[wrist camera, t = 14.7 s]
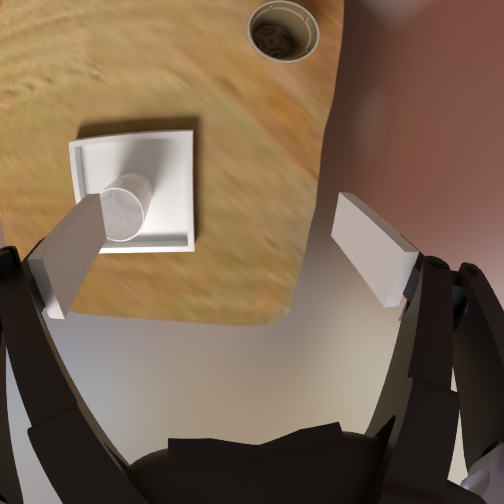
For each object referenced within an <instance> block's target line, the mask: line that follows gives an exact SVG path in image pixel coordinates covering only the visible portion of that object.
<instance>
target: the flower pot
mask: <svg viewBox="0 0 504 504" xmlns="http://www.w3.org/2000/svg"><path fill="white" fill-rule="evenodd" d="M265 28H270V29H268V30H263V29H265ZM247 35H248V38H249V41H250V43H251V44H252V47H253V49H254V50H255V52H256V53H257V54H259V55H260V56H262V57H264V58H267V59H270V60H273V61H276V62H281V63H292V62H297V61H300V60H303V59H305V58H306V57H308V56H309V55H310V54H311V53H312V52H313V51H314V50H315V49H316V47H317V45H318V42H319V37H320V33H319V28H318V25H317V22H316V20H315V19H314V17H313V16H312V15H311V13H310V12H309V11H307V10H306V9H305V8H304V7H302V6H300V5H298V4H296V3H294V2H290V1H285V0H275V1H270V2H267V3H264V4H262V5H260V6H259V7H258V8H256V9H255V10H254V11H253V13H252V14H251V15H250V17H249V20H248V23H247ZM284 35H286V36H287V37H288V42H287V41H286V38H285V36H284ZM271 40H273V42H271ZM255 42H258V45H259V48H258V47H257V46H256V44H255ZM277 53H280V55H278V56H275V57H273V56H272V55H273V54H277Z"/></svg>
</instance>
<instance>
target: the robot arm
mask: <svg viewBox="0 0 504 504" xmlns="http://www.w3.org/2000/svg"><path fill="white" fill-rule="evenodd" d="M331 236H332V237H333V238H334V240H335V241H336V242H337V243H338V245H339V246H340V247H341V249H342V250H343V251H344V253H345V254H346V255H347V257H348V258H349V259H350V261H351V262H352V263H353V265H354V266H355V267H356V269H357V270H358V271H359V273H360V274H361V276H362V277H363V278H364V279H365V281H366V282H367V284H368V285H369V286H370V288H371V289H372V291H373V292H374V294H375V295H376V296H377V298H378V299H379V300H380V302H381V303H382V305H383V306H384V308H387V307H395V306H398V305H399V303H400V300H401V298H402V296H403V295H404V296H405V298H406V299H407V302H406V304H405V307H404V309H403V311H402V313H401V315H400V317H399V319H398V320H399V321H401V324H400V328H399V333H398V337H397V340H396V345H395V348H394V352H393V356H392V359H391V363H390V366H389V370H388V373H387V376H386V379H385V383H384V385H383V389H382V391H381V395H380V397H379V400H378V403H377V406H376V409H375V411H374V415H373V417H372V419H371V422H370V424H369V427H368V429H367V431H366V432H365V434H364V435H363V434H359V433H354V432H344V431H342V430H341V427H340V424H339V422H335V423H331V424H326V425H321V426H316V427H311V428H305V429H300V430H298V431H295V432H293V433H291V434H288V435H285V436H283V437H280V438H278V439H275V440H272V441H270V442H267V443H264V444H261V445H251V444H243V443H236V442H230V441H224V440H218V439H212V438H207V439H206V438H205V439H173V438H169V439H168V448H167V449H163V450H159V451H156V452H153V453H150V454H148V455H146V456H143V457H142V458H140V459H138V460H136V461H135V462H134V463H132V464H131V465H129V464H128V462H127V461H126V460H125V459H124V458H123V457H122V455H121V454H120V453H119V452H118V451H117V449H116V448H115V447H114V445H113V444H112V443H111V441H110V440H109V438H108V437H107V435H106V434H105V433H104V431H103V430H102V428H101V427H100V425H99V424H98V422H97V421H96V419H95V418H94V416H93V414H92V413H91V411H90V410H89V408H88V406H87V405H86V403H85V401H84V400H83V398H82V396H81V395H80V393H79V391H78V389H77V387H76V386H75V384H74V382H73V380H72V378H71V377H70V375H69V373H68V371H67V369H66V367H65V365H64V363H63V361H62V359H61V357H60V355H59V353H58V351H57V348H56V346H55V344H54V342H53V339H52V337H51V335H50V332H49V330H48V328H47V325H46V323H45V320H44V318H43V316H42V314H41V313H42V311H43V309H44V307H45V308H46V310H47V312H48V315H49V317H50V318H58V319H65V318H66V315H67V313H68V311H69V309H70V307H71V305H72V303H73V301H74V299H75V297H76V295H77V293H78V291H79V289H80V287H81V285H82V283H83V281H84V279H85V277H86V275H87V273H88V271H89V269H90V268H91V266H92V264H93V262H94V260H95V259H96V257H97V255H98V253H99V252H100V250H101V248H102V246H103V245H104V243H105V241H106V240H107V237H106V232H105V226H104V220H103V213H102V207H101V200H100V193H95V194H87V195H86V196H85V197H84V198H83V199H82V200H81V201H80V202H79V203H78V204H77V205H76V206H75V207H74V208H73V209H72V210H71V211H70V212H69V213H68V214H67V215H66V216H65V217H64V218H63V219H62V220H61V221H60V222H59V223H58V224H57V225H56V227H55V228H54V229H53V230H52V231H51V232H50V233H49V234H48V235H47V236H46V237H45V238H43V239H42V240H40V241H39V242H38V243H37V244H36V245H35V247H34V248H33V249H32V250H31V251H30V253H29V254H28V255H27V256H26V257H25V258H24V260H23V261H22V262H21V260H20V257H19V254H18V251H17V248H16V247H15V246H6V247H3V248H1V249H0V504H23V497H22V492H21V488H20V483H19V478H18V475H17V470H16V465H15V460H14V456H13V450H12V444H11V437H10V429H9V422H8V411H7V396H6V346H7V350H8V354H9V358H10V362H11V366H12V370H13V373H14V377H15V380H16V383H17V386H18V389H19V392H20V395H21V398H22V401H23V404H24V407H25V409H26V412H27V415H28V417H29V420H30V422H31V425H32V427H30V428H28V436H29V439H30V442H31V444H32V447H33V449H34V451H35V453H36V455H37V457H38V459H39V461H40V463H41V465H42V467H43V469H44V471H45V473H46V475H47V477H48V479H49V481H50V483H51V484H52V486H53V488H54V490H55V491H56V493H57V495H58V496H59V498H60V500H61V501H62V503H63V504H504V311H503V309H502V307H501V305H500V303H499V301H498V299H497V297H496V295H495V293H494V291H493V289H492V288H491V286H490V284H489V282H488V281H487V279H486V277H485V275H484V274H483V272H482V271H481V270H480V269H479V268H478V267H477V266H476V265H474V264H470V263H466V262H464V263H462V264H461V266H460V268H459V271H458V272H457V271H452V270H450V268H449V265H448V264H447V263H446V262H445V261H443V260H442V259H440V258H437V257H434V256H426V257H425V256H424V255H423V254H422V253H421V252H420V251H419V250H418V249H417V248H415V246H413V245H412V244H411V243H410V242H409V241H408V240H407V239H406V238H405V237H404V236H402V235H401V234H399V233H398V232H397V231H396V230H395V229H394V228H393V227H391V226H390V225H389V224H388V223H387V222H386V221H384V220H383V219H382V218H381V217H380V216H379V215H377V214H376V213H375V212H374V211H373V210H371V209H370V208H369V207H368V206H367V205H365V204H364V203H363V202H362V201H360V200H359V199H358V198H357V197H355V196H354V195H353V194H352V193H343V192H340V193H339V198H338V204H337V209H336V214H335V219H334V225H333V230H332V235H331ZM466 311H467V312H466ZM452 366H453V370H454V375H455V381H456V387H457V392H455V391H452V390H451V379H452ZM459 410H460V417H461V426H462V438H463V450H464V458H465V463H466V468H467V472H468V477H467V478H465V479H464V480H463V481H462V482H461V484H460V486H459V485H457V484H455V483H453V482H451V481H449V480H447V478H448V474H449V470H450V466H451V461H452V456H453V451H454V445H455V439H456V433H457V426H458V418H459Z"/></svg>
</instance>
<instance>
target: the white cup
mask: <svg viewBox="0 0 504 504" xmlns="http://www.w3.org/2000/svg"><path fill="white" fill-rule="evenodd" d="M152 196H153V193H152V185H151V184H150V182H149V180H148V178H146V177H145V176H143V175H142V174H141V173H135V172H130V173H126V174H123V175H122V176H121V177H119V178H117V179H116V180H114V181H113V182H112V183H110V184H109V185H108V186H107V187H106V188H104V189H103V190H102V191H101V192H100V200H101V207H102V213H103V220H104V226H105V232H106V237H107V239H110V240H113V241H119V242H120V241H127V240H130V239H132V238H134V237H135V236H136V235H137V234H138V233H139V232H140V231H141V229H142V227H143V224H144V221H145V218H146V215H147V213H148V209H149V206H150V202H151V198H152Z"/></svg>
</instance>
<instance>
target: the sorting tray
mask: <svg viewBox="0 0 504 504" xmlns="http://www.w3.org/2000/svg"><path fill="white" fill-rule="evenodd" d="M193 145H194V129H172V130H153V131H139V132H127V133H117V134H108V135H99V136H92V137H84V138H78V139H74V140H72V141H70V142H69V151H70V161H71V170H72V178H73V186H74V192H75V199H76V205H77V204H78V203H79V202H80V201H81V200H82V199H83V198H84V197H85V196H86V195H87V194H95V193H100V192H101V191H102V190H103V189H104V188H106V187H107V186H108V185H109V184H110V183H112V182H113V181H114V180H116V179H117V178H119V177H121V176H122V175H123V174H126V173H130V172H135V173H141V174H142V175H143V176H145V177H146V178H148V180H149V182H150V184H151V185H152V193H153V196H152V198H151V202H150V206H149V209H148V213H147V215H146V218H145V221H144V224H143V227H142V229H141V231H140V232H139V233H138V234H137V235H136V236H135V237H134V238H132V239H130V240H127V241H120V242H119V241H113V240H110V239H107V240H106V241H105V243H104V245H103V246H102V248H101V250H100V252H99V253H133V252H187V251H194V248H195V233H194V189H193Z"/></svg>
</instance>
